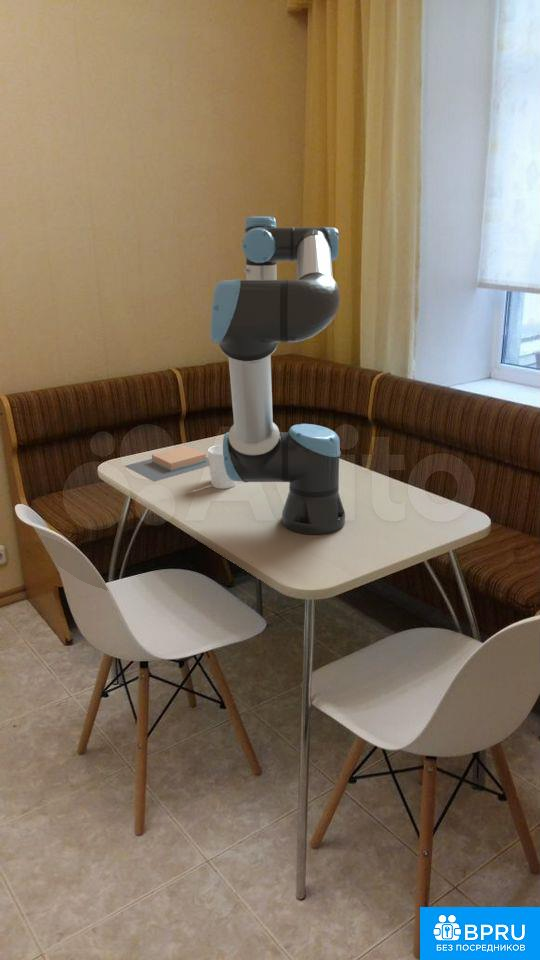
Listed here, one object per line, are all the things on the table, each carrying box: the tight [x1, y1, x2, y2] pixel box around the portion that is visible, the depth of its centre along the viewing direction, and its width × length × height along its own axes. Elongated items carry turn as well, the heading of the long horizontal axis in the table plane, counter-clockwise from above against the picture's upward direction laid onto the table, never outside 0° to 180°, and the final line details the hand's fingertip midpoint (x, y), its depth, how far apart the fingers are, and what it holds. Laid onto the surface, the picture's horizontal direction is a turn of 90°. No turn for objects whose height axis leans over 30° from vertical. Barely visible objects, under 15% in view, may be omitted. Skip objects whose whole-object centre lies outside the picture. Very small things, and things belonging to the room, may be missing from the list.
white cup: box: [207, 444, 237, 490], centre depth 203 cm, size 8×8×10 cm
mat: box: [124, 456, 209, 482], centre depth 218 cm, size 22×16×1 cm
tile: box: [151, 445, 207, 472], centre depth 219 cm, size 2×10×12 cm
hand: (262, 375), depth 197 cm, fingers closed
